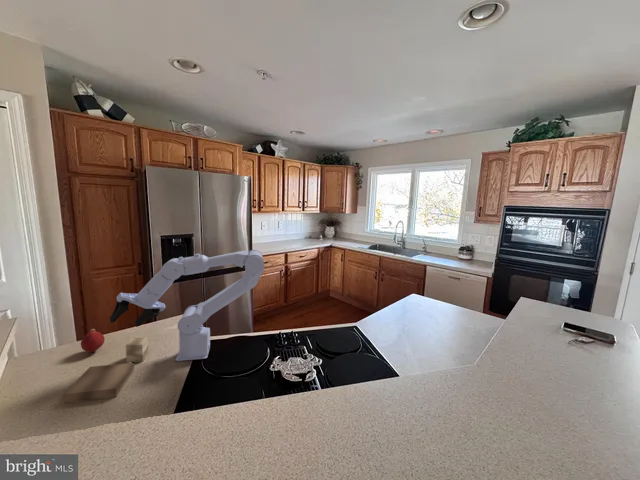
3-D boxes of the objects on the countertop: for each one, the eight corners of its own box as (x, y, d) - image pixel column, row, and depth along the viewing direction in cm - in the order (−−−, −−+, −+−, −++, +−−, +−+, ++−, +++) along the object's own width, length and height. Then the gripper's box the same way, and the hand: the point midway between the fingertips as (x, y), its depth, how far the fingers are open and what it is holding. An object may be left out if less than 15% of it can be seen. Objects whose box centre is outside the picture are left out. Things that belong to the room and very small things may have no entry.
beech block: (148, 353, 86) (147, 337, 85) (142, 361, 81) (142, 344, 81) (132, 355, 84) (132, 338, 84) (126, 363, 80) (125, 345, 79)
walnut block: (134, 371, 77) (134, 362, 77) (116, 398, 67) (115, 388, 66) (90, 376, 74) (90, 366, 74) (64, 405, 64) (63, 394, 63)
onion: (91, 358, 81) (89, 335, 80) (76, 355, 82) (75, 332, 81) (109, 348, 87) (108, 326, 86) (95, 346, 88) (94, 324, 87)
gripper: (170, 288, 89) (143, 318, 88) (129, 275, 78) (97, 309, 77) (176, 301, 85) (148, 332, 84) (133, 289, 74) (100, 325, 73)
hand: (124, 322), depth 80 cm, fingers open, 7 cm apart
